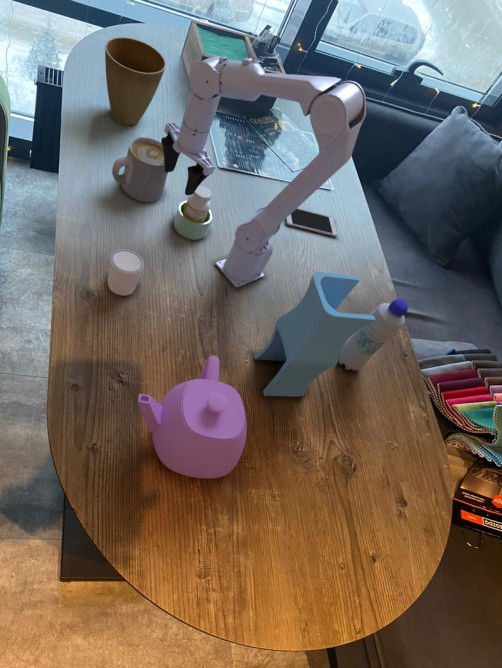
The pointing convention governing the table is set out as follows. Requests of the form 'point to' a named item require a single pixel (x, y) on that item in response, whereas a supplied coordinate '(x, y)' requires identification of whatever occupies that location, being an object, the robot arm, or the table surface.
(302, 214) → the smartphone
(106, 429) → the table surface
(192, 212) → the supplement bottle
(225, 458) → the teapot
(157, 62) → the plant pot
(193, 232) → the cup
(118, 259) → the white round canister
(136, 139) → the coffee mug
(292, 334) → the blue tall flared piece
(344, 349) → the bottle
